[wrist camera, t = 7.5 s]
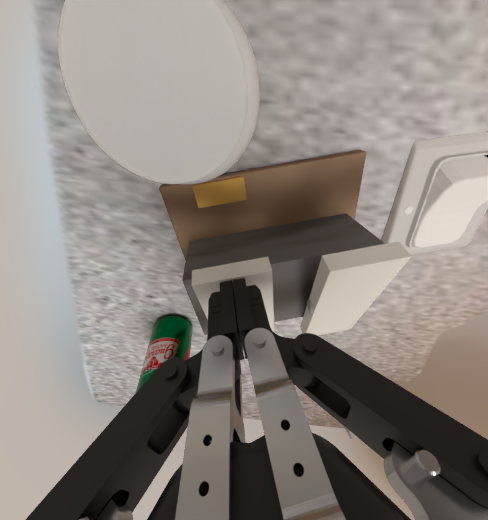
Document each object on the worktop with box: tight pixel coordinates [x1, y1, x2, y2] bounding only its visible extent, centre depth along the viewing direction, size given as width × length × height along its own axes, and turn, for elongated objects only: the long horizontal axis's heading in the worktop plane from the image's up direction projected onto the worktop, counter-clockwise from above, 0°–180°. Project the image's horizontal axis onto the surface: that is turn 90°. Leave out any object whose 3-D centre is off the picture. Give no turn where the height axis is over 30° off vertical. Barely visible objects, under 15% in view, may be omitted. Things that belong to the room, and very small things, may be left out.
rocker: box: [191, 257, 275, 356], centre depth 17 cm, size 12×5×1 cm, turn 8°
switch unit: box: [159, 150, 385, 335], centre depth 22 cm, size 18×18×7 cm
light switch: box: [382, 132, 488, 255], centre depth 22 cm, size 11×4×13 cm
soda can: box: [136, 316, 192, 393], centre depth 25 cm, size 5×5×12 cm
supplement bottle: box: [58, 0, 260, 184], centre depth 11 cm, size 7×7×13 cm
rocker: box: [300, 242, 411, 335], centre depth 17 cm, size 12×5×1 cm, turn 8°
